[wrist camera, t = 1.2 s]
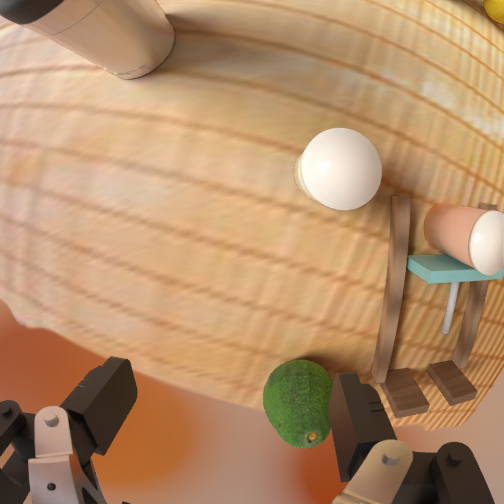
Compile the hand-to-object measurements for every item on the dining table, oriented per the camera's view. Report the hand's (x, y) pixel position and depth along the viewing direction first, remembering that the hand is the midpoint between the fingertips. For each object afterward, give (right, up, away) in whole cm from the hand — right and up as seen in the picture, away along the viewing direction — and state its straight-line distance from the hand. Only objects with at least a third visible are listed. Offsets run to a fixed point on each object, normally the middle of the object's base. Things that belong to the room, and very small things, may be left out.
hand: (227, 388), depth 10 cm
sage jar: (+8, +13, +18) cm, 24 cm away
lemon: (+37, +41, +10) cm, 57 cm away
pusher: (+23, 0, +20) cm, 30 cm away
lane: (+23, 0, +20) cm, 30 cm away
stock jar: (+23, +8, +18) cm, 30 cm away
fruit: (+6, -9, +24) cm, 26 cm away
